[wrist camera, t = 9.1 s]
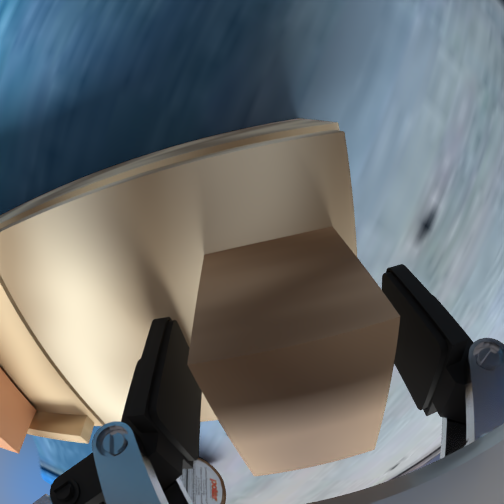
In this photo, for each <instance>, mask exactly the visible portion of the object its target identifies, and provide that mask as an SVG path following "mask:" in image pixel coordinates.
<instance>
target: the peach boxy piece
mask: <svg viewBox="0 0 504 504" xmlns="http://www.w3.org/2000/svg"><path fill="white" fill-rule="evenodd" d="M35 412H36V409H35V408H34V407H33V406H32V405H31V404H30V403H29V401H28V400H27V399H26V398H25V397H24V396H23V395H22V394H21V392H20V391H19V390H18V389H17V388H16V387H15V385H14V384H13V383H12V382H11V381H10V379H9V378H8V377H7V376H6V374H5V373H4V372H3V371H2V369H1V368H0V447H1V448H4V449H7V450H10V451H13V452H16V453H19V452H20V449H21V446H22V444H23V441H24V438H25V436H26V434H27V431H28V429H29V426H30V424H31V422H32V419H33V417H34V415H35Z"/></svg>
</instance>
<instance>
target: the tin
mask: <svg viewBox="0 0 504 504" xmlns="http://www.w3.org/2000/svg"><path fill="white" fill-rule="evenodd" d="M179 478H180V480H181V482H182V484H183V486H184V487H185V489H186V491H187V493H188V495H189V497H190V499H191V501H192V502H193V504H225V501H226V490H225V486H224V482H223V479H222V477H221V476H220V474H219V473H218V472H217V470H216V469H215V468H214V467H213V466H212V465H210V464H209V463H208V462H206V461H205V460H203V459H201V458H198V460H196V461H194V464H193V469H182V475H181V476H180V477H179Z"/></svg>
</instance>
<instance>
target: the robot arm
mask: <svg viewBox="0 0 504 504" xmlns="http://www.w3.org/2000/svg"><path fill="white" fill-rule="evenodd" d="M382 291H383V293H384V294H385V295H386V297H387V298H388V300H389V301H390V302H391V304H392V305H393V307H394V308H395V309H396V311H397V312H398V314H399V315H400V324H399V332H398V340H397V347H396V353H395V360H394V364H395V366H396V367H397V369H398V371H399V373H400V375H401V377H402V379H403V381H404V382H405V384H406V386H407V388H408V390H409V392H410V394H411V396H412V398H413V400H414V402H415V404H416V406H417V408H418V409H419V410H422V409H423V410H424V412H425V414H426V416H428V415H430V414H433V413H435V412H438V414H439V416H440V417H443V419H442V440H441V453H440V460H438V461H436V462H433V463H431V464H429V465H427V466H425V467H422V468H420V469H418V470H415V471H413V472H411V473H408V474H406V475H403V476H401V477H398V478H395V479H393V480H390V481H387V482H384V483H381V484H379V485H376V486H373V487H369V488H366V489H363V490H360V491H356V492H353V493H350V494H346V495H342V496H338V497H334V498H330V499H326V500H322V501H317V502H312V503H308V504H504V344H503V343H501V342H500V341H498V340H495V339H492V338H483V339H479V340H477V341H475V342H474V343H473V341H472V340H471V339H470V338H469V336H468V335H467V334H466V333H465V331H464V330H463V329H462V328H461V327H460V325H459V324H458V323H457V322H456V321H455V319H454V318H453V317H452V316H451V315H450V314H449V312H448V311H447V310H446V309H445V308H444V307H443V305H442V304H441V303H440V302H439V301H438V300H437V299H436V298H435V297H434V296H433V295H431V293H430V292H429V291H428V290H427V289H426V288H425V287H424V286H423V285H422V284H421V282H420V281H419V280H418V279H417V278H416V277H415V276H414V275H413V274H412V273H411V272H410V271H409V270H408V269H407V267H406V266H404V265H403V264H401V265H397V266H394V267H390V268H388V269H387V271H386V273H384V274H383V276H382ZM189 349H190V348H189V346H188V344H187V342H186V340H185V337H184V335H183V333H182V331H181V329H180V327H179V324H178V322H177V321H176V320H172V319H171V318H170V317H164V318H158V319H154V320H153V321H152V323H151V327H150V330H149V333H148V336H147V340H146V343H145V346H144V350H143V353H142V356H141V359H139V360H138V362H137V364H136V367H135V371H134V374H133V378H132V381H131V385H130V388H129V392H128V396H127V399H126V403H125V407H124V411H123V415H122V419H121V422H119V421H114V422H110V423H107V424H105V425H103V426H102V427H101V428H100V429H98V430H97V432H96V433H95V435H94V437H93V440H92V451H93V453H91V454H90V455H89V456H87V457H86V458H84V459H83V460H82V461H80V462H79V463H77V464H76V465H75V466H73V467H72V468H70V469H69V470H67V471H66V472H65V473H63V474H62V475H60V476H59V477H58V478H57V479H55V480H54V482H53V484H52V485H51V489H50V496H49V495H47V494H45V495H44V496H42V497H41V498H40V499H38V500H37V501H36V502H34V503H33V504H193V502H192V501H191V499H190V497H189V495H188V493H187V491H186V489H185V487H184V486H183V484H182V482H181V480H180V478H179V477H180V476H181V475H182V469H193V464H194V461H196V460H198V456H199V434H200V416H201V399H202V391H201V389H200V387H199V385H198V384H197V382H196V380H195V378H194V376H193V374H192V372H191V371H190V369H189V367H188V365H187V364H188V356H189Z"/></svg>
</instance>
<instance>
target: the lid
mask: <svg viewBox="0 0 504 504" xmlns="http://www.w3.org/2000/svg"><path fill="white" fill-rule="evenodd" d="M0 275H1V277H2V279H3V281H4V283H5V285H6V287H7V288H8V290H9V292H10V294H11V296H12V298H13V300H14V301H15V303H16V305H17V307H18V308H19V310H20V312H21V313H22V315H23V317H24V318H25V320H26V322H27V323H28V325H29V327H30V328H31V330H32V331H33V333H34V334H35V336H36V337H37V339H38V340H39V342H40V343H41V345H42V346H43V348H44V349H45V351H46V352H47V353H48V355H49V356H50V358H51V359H52V360H53V362H54V363H55V365H56V366H57V367H58V369H59V370H60V371H61V372H62V374H63V375H64V376H65V378H66V379H67V380H68V381H69V383H70V384H71V385H72V386H73V388H74V389H75V390H76V391H77V392H78V394H79V395H80V396H81V397H82V398H83V400H84V401H85V402H86V403H87V404H88V405H89V406H90V408H91V409H92V410H93V411H94V412H95V413H96V414H97V415H98V416H99V417H100V418H101V420H102V421H103V422H104V423H105V424H107V423H110V422H114V421H119V422H121V419H122V415H123V411H124V407H125V403H126V399H127V396H128V392H129V388H130V385H131V381H132V378H133V374H134V371H135V367H136V364H137V362H138V360H139V359H141V356H142V353H143V350H144V346H145V343H146V340H147V336H148V333H149V330H150V327H151V323H152V321H153V320H154V319H158V318H164V317H170V318H171V319H172V320H176V321H177V322H178V324H179V327H180V329H181V331H182V333H183V335H184V337H185V340H186V342H187V344H188V346H189V348H190V349H189V356H188V364H187V365H188V367H189V369H190V371H191V372H192V374H193V376H194V378H195V380H196V382H197V384H198V385H199V387H200V389H201V391H202V399H201V416H200V422H203V421H213V420H219V422H220V424H221V425H222V427H223V429H224V430H225V432H226V434H227V435H228V437H229V438H230V440H231V442H232V443H233V445H234V446H235V448H236V449H237V451H238V453H239V454H240V456H241V457H242V459H243V460H244V462H245V463H246V465H247V466H248V468H249V469H250V471H251V472H252V474H253V475H254V476H261V475H269V474H275V473H281V472H287V471H293V470H298V469H303V468H308V467H313V466H317V465H321V464H326V463H330V462H334V461H337V460H341V459H345V458H348V457H352V456H355V455H359V454H362V453H365V452H368V451H371V450H374V449H375V446H376V442H377V438H378V435H379V431H380V427H381V423H382V419H383V415H384V411H385V406H386V402H387V397H388V392H389V387H390V382H391V377H392V371H393V366H394V360H395V353H396V347H397V340H398V332H399V324H400V315H399V314H398V312H397V311H396V309H395V308H394V307H393V305H392V304H391V302H390V301H389V300H388V298H387V297H386V295H385V294H384V293H383V291H382V290H381V289H380V287H379V286H378V285H377V283H376V282H375V280H374V279H373V278H372V276H371V275H370V274H369V272H368V271H367V270H366V269H365V267H364V266H363V265H362V263H361V262H360V261H359V259H358V258H357V247H356V231H355V218H354V207H353V196H352V186H351V178H350V169H349V161H348V154H347V147H346V140H345V133H344V132H343V131H338V130H326V131H319V132H313V133H307V134H301V135H295V136H289V137H284V138H278V139H273V140H268V141H263V142H258V143H254V144H249V145H244V146H240V147H235V148H231V149H227V150H222V151H218V152H214V153H210V154H206V155H202V156H198V157H195V158H191V159H187V160H183V161H180V162H176V163H173V164H169V165H166V166H162V167H159V168H156V169H152V170H149V171H146V172H143V173H139V174H136V175H133V176H130V177H127V178H124V179H121V180H118V181H115V182H112V183H109V184H107V185H104V186H101V187H98V188H95V189H93V190H90V191H87V192H85V193H82V194H79V195H77V196H74V197H72V198H69V199H66V200H64V201H61V202H59V203H57V204H54V205H52V206H49V207H47V208H45V209H42V210H40V211H38V212H35V213H33V214H31V215H29V216H26V217H24V218H22V219H20V220H18V221H15V222H13V223H11V224H9V225H7V226H5V227H3V228H1V229H0Z"/></svg>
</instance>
